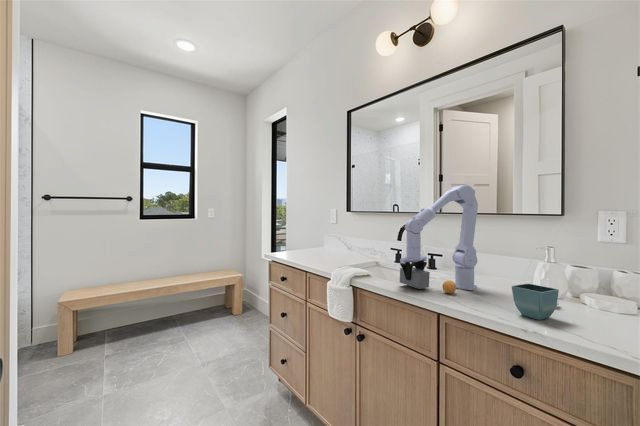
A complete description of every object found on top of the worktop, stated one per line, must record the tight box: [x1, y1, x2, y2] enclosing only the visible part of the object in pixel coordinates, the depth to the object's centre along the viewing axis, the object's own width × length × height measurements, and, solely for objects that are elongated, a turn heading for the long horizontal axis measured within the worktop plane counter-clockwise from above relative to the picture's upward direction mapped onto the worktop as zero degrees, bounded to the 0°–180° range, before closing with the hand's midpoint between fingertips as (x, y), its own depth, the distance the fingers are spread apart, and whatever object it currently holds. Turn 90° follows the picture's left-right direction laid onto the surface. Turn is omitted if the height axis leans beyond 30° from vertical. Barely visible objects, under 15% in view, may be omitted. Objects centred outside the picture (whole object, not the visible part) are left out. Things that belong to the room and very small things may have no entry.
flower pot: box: [511, 283, 560, 321], centre depth 86 cm, size 9×9×9 cm
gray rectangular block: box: [399, 267, 430, 290], centre depth 120 cm, size 6×10×6 cm, turn 32°
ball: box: [442, 280, 457, 294], centre depth 112 cm, size 5×5×5 cm
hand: (413, 279), depth 121 cm, fingers closed on gray rectangular block, 6 cm apart
